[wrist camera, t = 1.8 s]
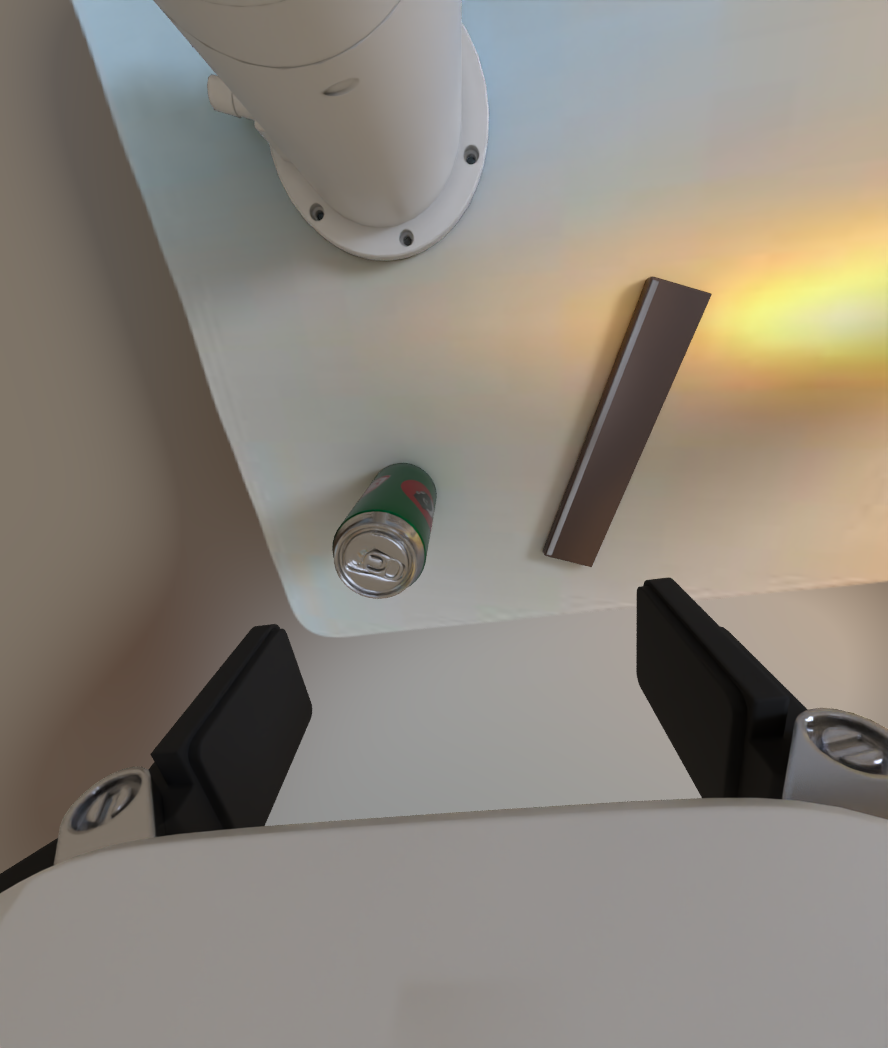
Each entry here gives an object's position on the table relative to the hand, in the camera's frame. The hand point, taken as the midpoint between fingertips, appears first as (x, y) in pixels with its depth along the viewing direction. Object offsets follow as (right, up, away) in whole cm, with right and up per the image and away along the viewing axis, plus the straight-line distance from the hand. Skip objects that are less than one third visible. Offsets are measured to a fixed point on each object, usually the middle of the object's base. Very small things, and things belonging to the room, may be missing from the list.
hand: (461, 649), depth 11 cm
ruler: (+12, +10, +19) cm, 25 cm away
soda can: (-3, +6, +22) cm, 23 cm away
